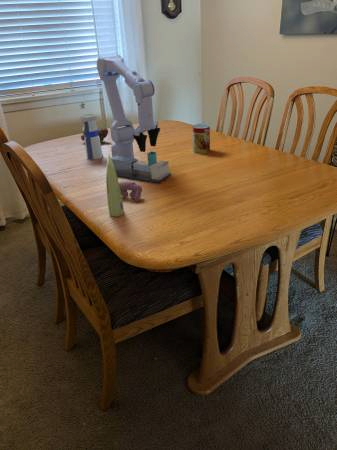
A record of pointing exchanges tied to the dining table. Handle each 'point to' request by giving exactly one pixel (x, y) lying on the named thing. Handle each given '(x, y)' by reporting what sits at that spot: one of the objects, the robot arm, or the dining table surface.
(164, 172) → the socket
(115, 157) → the grey long angular block
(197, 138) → the canned food
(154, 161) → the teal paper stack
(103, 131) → the decorative turtle
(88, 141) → the water bottle
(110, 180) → the tube
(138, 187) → the video game controller
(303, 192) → the dining table surface
